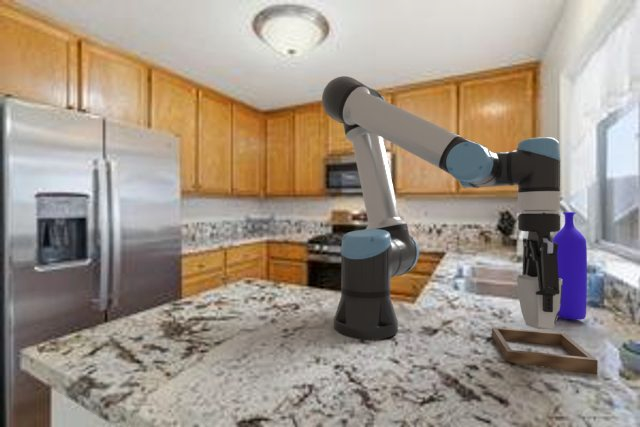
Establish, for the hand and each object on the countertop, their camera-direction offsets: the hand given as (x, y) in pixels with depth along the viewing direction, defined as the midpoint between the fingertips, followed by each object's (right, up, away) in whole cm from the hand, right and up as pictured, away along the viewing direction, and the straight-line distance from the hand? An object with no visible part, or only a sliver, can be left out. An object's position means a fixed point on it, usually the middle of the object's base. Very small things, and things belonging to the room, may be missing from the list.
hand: (539, 320), depth 74 cm
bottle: (+26, -7, +27) cm, 38 cm away
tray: (0, -7, 0) cm, 7 cm away
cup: (0, -1, 0) cm, 1 cm away
